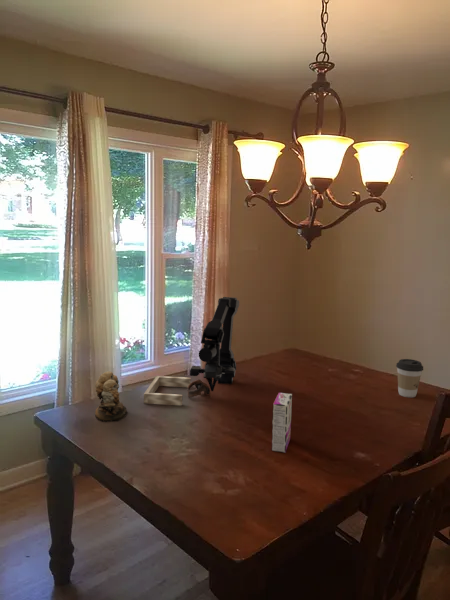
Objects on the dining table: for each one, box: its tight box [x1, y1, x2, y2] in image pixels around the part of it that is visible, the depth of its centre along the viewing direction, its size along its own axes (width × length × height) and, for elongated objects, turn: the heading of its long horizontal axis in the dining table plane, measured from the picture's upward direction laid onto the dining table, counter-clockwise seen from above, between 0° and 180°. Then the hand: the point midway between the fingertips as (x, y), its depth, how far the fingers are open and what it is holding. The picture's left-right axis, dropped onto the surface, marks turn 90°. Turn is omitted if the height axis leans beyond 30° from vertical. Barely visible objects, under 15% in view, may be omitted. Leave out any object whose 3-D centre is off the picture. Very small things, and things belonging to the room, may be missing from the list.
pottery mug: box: [187, 379, 212, 399], centre depth 206 cm, size 12×10×8 cm
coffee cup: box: [395, 358, 424, 398], centre depth 214 cm, size 11×11×15 cm
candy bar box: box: [271, 392, 293, 454], centre depth 163 cm, size 11×5×16 cm, turn 164°
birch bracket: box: [143, 375, 192, 406], centre depth 208 cm, size 16×23×4 cm
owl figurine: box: [94, 371, 128, 423], centre depth 185 cm, size 18×12×17 cm, turn 15°
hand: (212, 391), depth 206 cm, fingers closed
